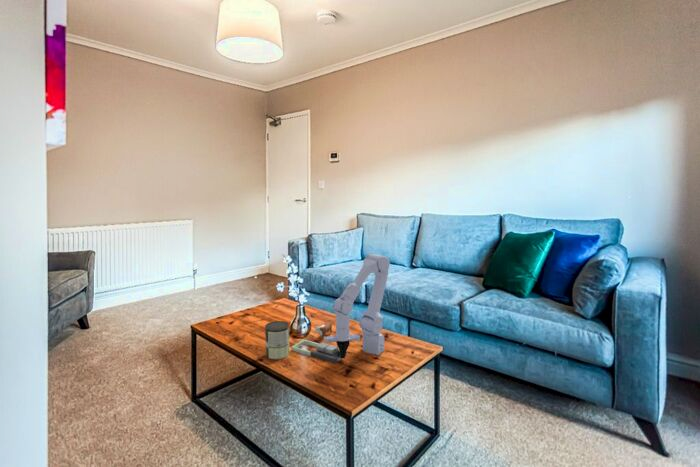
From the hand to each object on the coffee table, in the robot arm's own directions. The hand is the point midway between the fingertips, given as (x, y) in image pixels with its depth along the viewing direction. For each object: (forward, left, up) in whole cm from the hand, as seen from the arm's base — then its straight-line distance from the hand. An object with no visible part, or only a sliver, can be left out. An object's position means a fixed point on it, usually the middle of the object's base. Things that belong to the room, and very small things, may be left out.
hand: (342, 357), depth 157 cm
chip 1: (+10, 0, -1) cm, 10 cm away
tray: (+19, 0, -2) cm, 19 cm away
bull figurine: (+21, -15, -2) cm, 26 cm away
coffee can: (+27, +11, -2) cm, 29 cm away
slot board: (+7, 0, -2) cm, 8 cm away
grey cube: (+6, 0, -1) cm, 6 cm away
